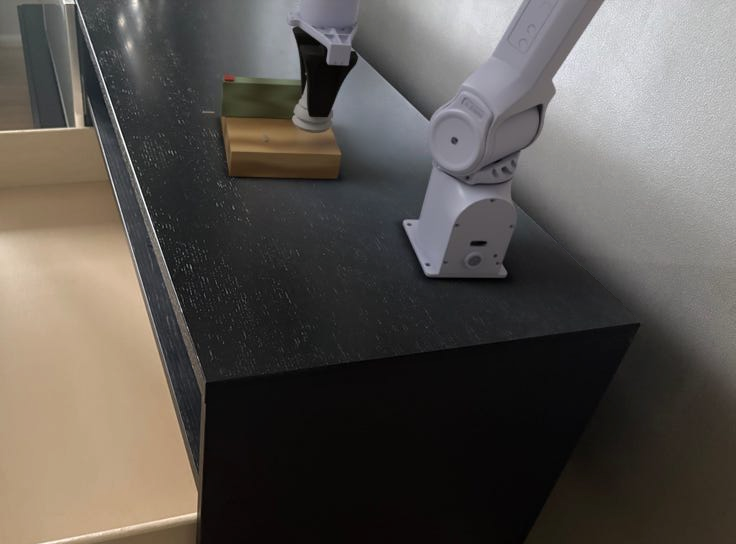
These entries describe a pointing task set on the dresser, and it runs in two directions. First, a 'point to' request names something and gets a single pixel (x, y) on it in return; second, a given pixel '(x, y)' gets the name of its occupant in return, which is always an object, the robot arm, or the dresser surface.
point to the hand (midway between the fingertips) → (315, 107)
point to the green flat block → (259, 97)
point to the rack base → (278, 149)
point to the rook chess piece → (307, 122)
